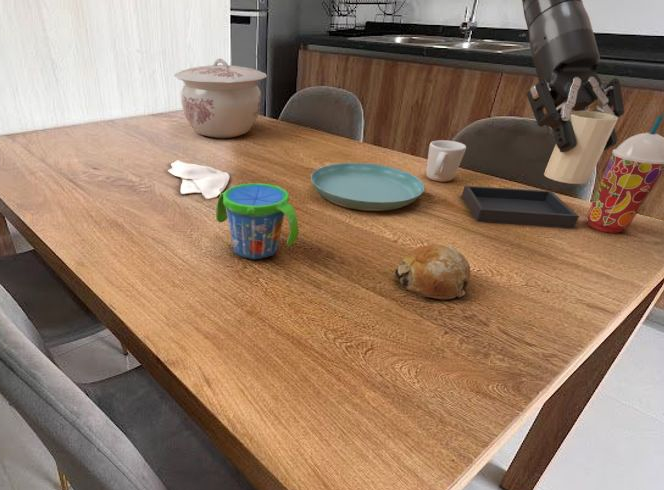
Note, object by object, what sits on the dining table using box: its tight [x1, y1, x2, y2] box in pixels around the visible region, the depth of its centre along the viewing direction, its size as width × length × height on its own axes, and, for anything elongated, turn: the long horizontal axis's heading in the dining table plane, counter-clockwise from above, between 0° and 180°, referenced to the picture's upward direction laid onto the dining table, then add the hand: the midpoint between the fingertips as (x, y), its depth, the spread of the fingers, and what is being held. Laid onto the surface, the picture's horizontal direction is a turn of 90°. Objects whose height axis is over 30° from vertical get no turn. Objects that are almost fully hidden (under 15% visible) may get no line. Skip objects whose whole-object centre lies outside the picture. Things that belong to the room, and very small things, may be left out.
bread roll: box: [394, 244, 471, 300], centre depth 67 cm, size 10×10×8 cm
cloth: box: [167, 159, 230, 200], centre depth 106 cm, size 26×14×2 cm, turn 17°
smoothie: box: [586, 115, 664, 234], centre depth 81 cm, size 8×8×20 cm
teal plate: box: [310, 162, 425, 212], centre depth 99 cm, size 24×24×3 cm
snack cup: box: [215, 182, 299, 261], centre depth 74 cm, size 16×10×10 cm
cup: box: [425, 139, 467, 183], centre depth 105 cm, size 11×8×8 cm
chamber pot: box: [173, 58, 268, 139], centre depth 137 cm, size 28×28×21 cm
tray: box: [461, 185, 580, 229], centre depth 92 cm, size 18×14×2 cm
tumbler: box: [543, 110, 619, 185], centre depth 67 cm, size 6×6×9 cm
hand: (588, 148), depth 65 cm, fingers closed on tumbler, 6 cm apart
